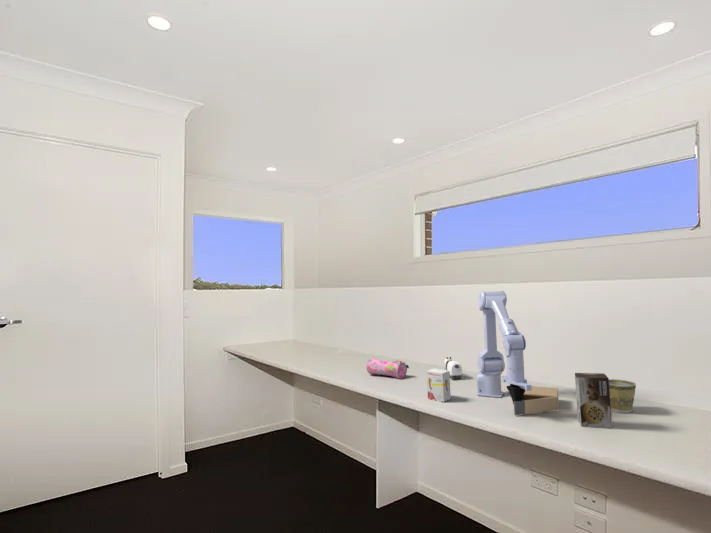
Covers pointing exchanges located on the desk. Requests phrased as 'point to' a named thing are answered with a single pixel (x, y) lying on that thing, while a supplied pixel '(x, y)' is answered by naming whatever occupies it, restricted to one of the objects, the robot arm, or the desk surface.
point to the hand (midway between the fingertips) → (517, 406)
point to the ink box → (438, 384)
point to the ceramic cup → (621, 395)
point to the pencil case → (387, 368)
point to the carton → (540, 393)
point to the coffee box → (593, 400)
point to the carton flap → (536, 405)
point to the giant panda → (453, 368)
